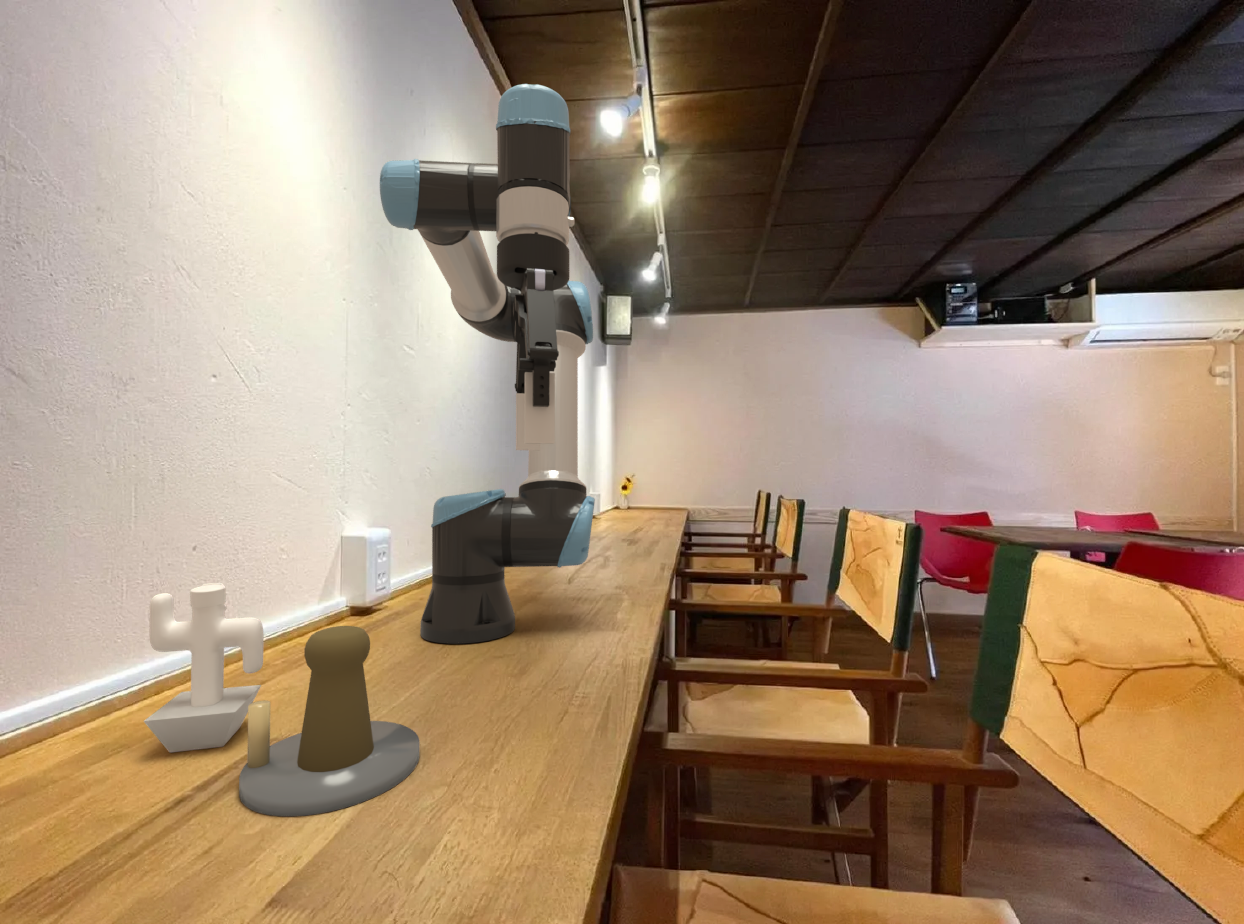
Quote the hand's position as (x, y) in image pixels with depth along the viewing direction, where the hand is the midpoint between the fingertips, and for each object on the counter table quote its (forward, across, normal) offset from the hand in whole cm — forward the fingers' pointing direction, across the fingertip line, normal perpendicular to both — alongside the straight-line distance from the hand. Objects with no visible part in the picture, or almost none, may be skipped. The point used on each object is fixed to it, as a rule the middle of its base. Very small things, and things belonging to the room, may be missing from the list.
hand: (533, 447), depth 59 cm
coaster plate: (+29, -4, +18) cm, 34 cm away
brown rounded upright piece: (+28, -4, +18) cm, 33 cm away
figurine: (+29, +5, +31) cm, 43 cm away
